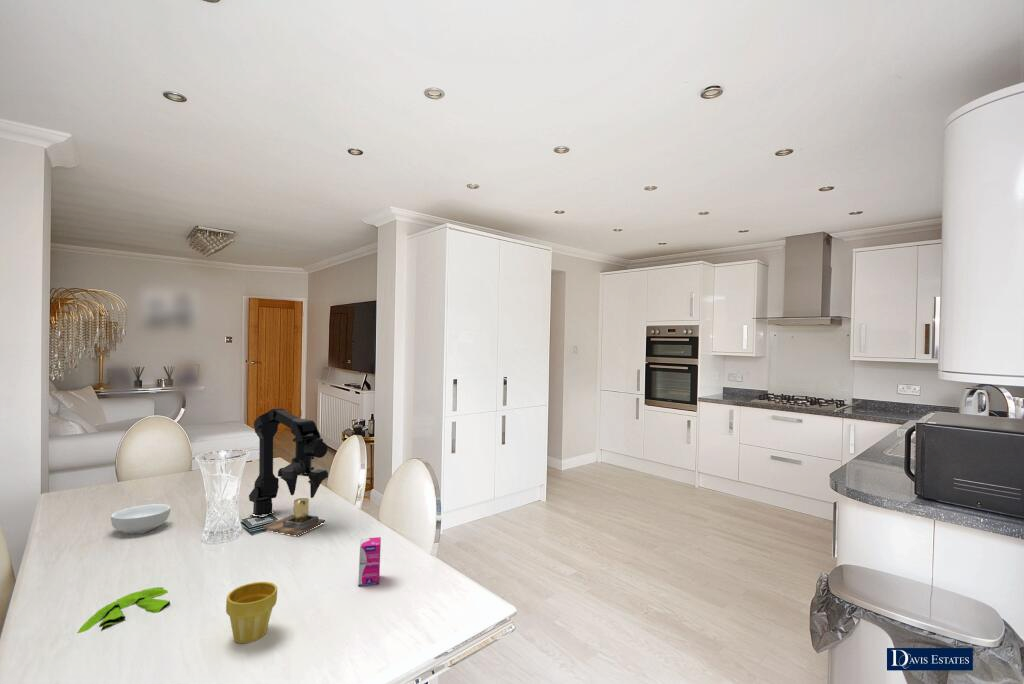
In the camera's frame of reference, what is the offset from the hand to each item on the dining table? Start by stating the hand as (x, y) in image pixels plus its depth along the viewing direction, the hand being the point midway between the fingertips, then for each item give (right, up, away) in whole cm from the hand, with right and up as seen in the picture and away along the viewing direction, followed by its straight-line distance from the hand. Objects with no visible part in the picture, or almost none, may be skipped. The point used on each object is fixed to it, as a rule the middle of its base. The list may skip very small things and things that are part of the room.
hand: (302, 496), depth 172 cm
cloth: (-17, -11, -57) cm, 60 cm away
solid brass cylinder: (0, -10, 0) cm, 10 cm away
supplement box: (+37, -12, -39) cm, 55 cm away
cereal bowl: (-57, -11, -5) cm, 58 cm away
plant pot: (+18, -10, -65) cm, 69 cm away
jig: (-3, -12, +1) cm, 12 cm away
